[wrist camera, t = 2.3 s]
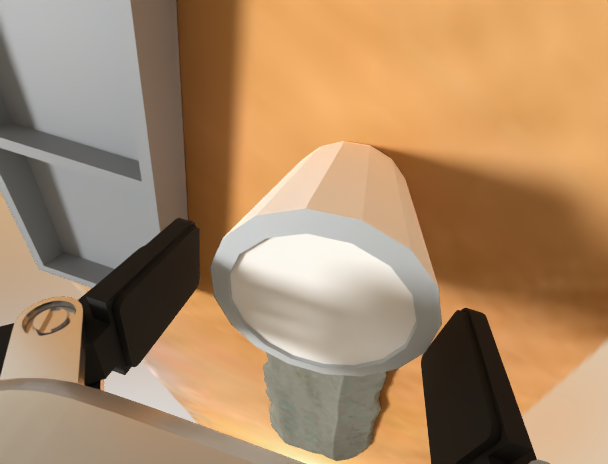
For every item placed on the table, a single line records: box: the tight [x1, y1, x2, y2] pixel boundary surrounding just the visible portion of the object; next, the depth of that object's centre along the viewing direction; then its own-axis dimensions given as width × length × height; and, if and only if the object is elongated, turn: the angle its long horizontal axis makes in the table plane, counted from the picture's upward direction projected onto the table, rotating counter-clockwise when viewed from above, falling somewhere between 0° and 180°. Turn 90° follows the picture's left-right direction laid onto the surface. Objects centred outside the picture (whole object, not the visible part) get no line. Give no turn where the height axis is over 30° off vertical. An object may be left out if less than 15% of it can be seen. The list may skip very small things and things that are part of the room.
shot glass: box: [210, 141, 442, 376], centre depth 12 cm, size 7×7×7 cm
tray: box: [0, 0, 188, 288], centre depth 15 cm, size 10×19×2 cm, turn 169°
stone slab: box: [263, 352, 387, 461], centre depth 24 cm, size 22×3×10 cm
